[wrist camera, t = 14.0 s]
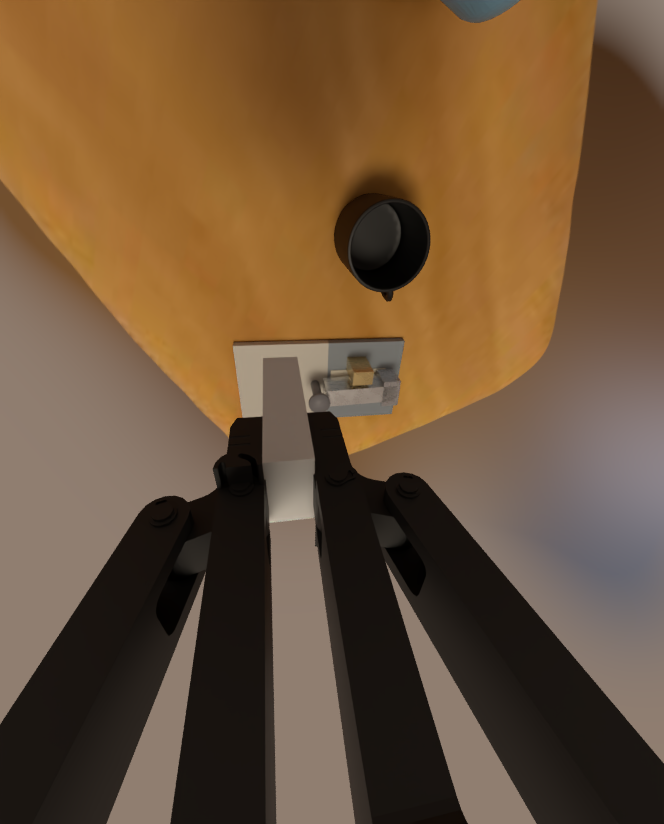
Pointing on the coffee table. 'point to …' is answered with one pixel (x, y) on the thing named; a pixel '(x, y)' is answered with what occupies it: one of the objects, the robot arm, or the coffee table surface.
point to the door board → (313, 370)
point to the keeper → (359, 371)
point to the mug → (382, 241)
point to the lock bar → (363, 390)
